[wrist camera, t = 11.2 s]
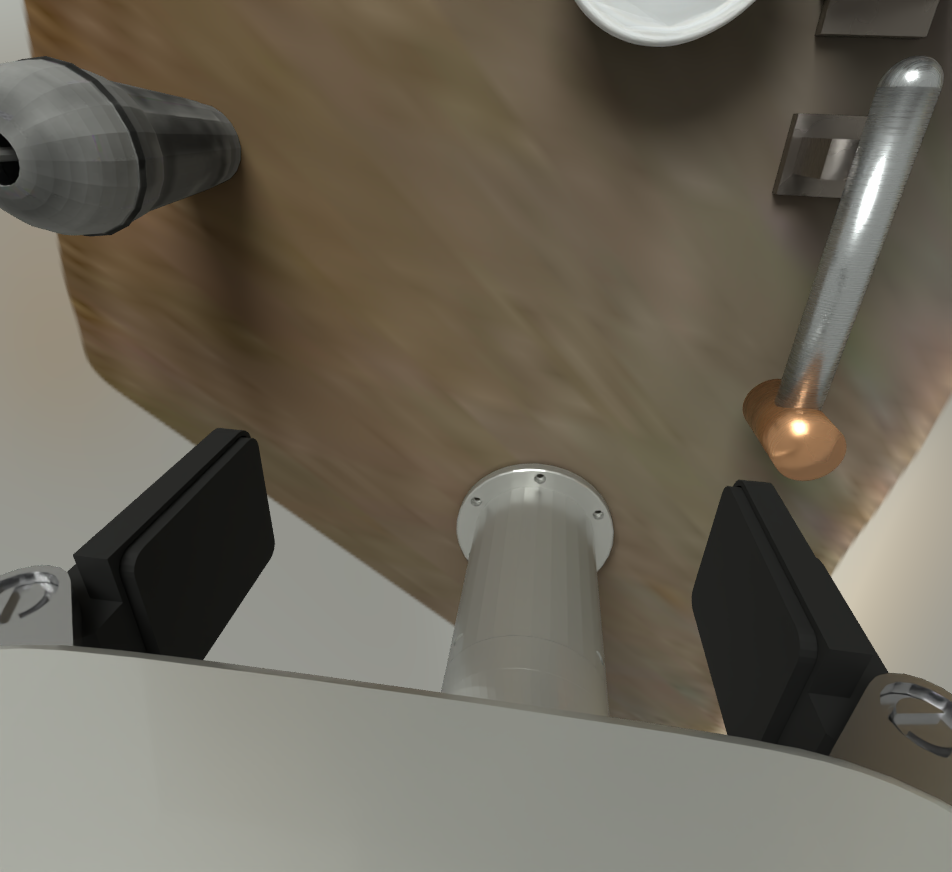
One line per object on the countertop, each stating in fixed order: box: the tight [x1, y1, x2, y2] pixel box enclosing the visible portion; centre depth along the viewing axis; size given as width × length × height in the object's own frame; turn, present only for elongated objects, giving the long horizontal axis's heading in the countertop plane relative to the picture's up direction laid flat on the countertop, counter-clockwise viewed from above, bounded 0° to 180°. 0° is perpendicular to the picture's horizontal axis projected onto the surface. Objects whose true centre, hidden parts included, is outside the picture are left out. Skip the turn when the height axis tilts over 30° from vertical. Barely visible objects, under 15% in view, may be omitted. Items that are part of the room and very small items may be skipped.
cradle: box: [772, 114, 868, 198], centre depth 30 cm, size 4×5×5 cm
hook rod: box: [743, 56, 944, 481], centre depth 29 cm, size 20×4×6 cm, turn 178°
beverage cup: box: [0, 56, 241, 236], centre depth 27 cm, size 7×7×20 cm
